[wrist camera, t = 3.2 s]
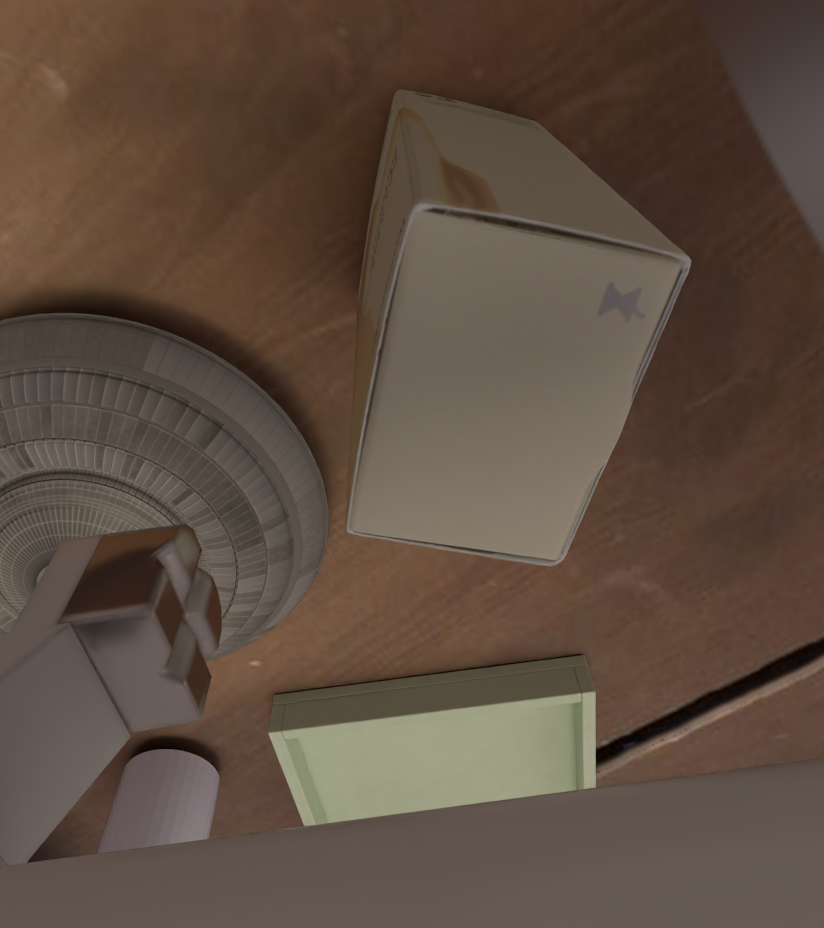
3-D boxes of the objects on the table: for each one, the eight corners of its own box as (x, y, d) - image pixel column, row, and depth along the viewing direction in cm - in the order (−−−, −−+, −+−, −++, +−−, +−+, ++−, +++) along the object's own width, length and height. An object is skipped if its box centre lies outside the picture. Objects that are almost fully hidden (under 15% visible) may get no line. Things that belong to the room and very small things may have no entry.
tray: (583, 654, 32) (595, 691, 30) (586, 830, 40) (596, 869, 38) (273, 694, 33) (267, 733, 31) (334, 861, 40) (332, 900, 39)
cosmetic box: (392, 83, 20) (410, 168, 9) (542, 119, 20) (712, 235, 10) (353, 304, 23) (335, 545, 13) (483, 329, 24) (565, 577, 13)
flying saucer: (153, 686, 32) (115, 800, 28) (-179, 475, 26) (-301, 578, 21) (412, 508, 28) (419, 609, 23) (87, 194, 21) (6, 246, 16)
